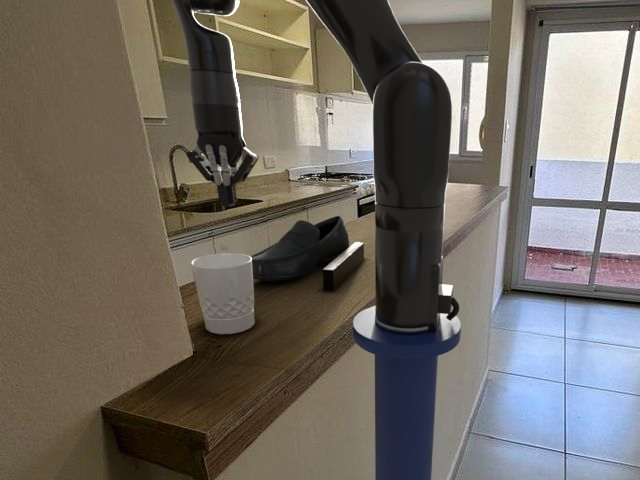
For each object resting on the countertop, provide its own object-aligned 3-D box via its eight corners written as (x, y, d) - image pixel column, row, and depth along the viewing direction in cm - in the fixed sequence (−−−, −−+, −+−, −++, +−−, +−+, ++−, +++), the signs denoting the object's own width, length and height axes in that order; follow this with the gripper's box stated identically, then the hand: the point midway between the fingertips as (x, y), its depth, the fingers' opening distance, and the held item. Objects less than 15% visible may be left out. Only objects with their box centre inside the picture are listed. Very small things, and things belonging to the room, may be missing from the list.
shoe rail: (364, 259, 102) (363, 242, 100) (334, 291, 82) (333, 270, 80) (355, 259, 102) (355, 242, 100) (323, 290, 82) (322, 269, 80)
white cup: (263, 314, 70) (256, 252, 67) (253, 335, 63) (245, 267, 59) (210, 315, 69) (200, 252, 65) (194, 337, 62) (182, 268, 58)
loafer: (231, 286, 82) (224, 231, 78) (317, 251, 107) (314, 208, 103) (278, 294, 79) (273, 237, 75) (355, 256, 104) (354, 212, 100)
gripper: (165, 100, 73) (183, 207, 80) (241, 102, 72) (252, 211, 79) (193, 103, 80) (207, 201, 87) (263, 105, 79) (271, 205, 85)
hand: (228, 205), depth 83 cm, fingers closed
